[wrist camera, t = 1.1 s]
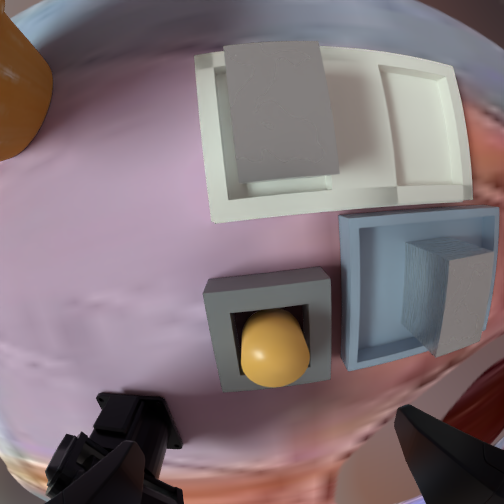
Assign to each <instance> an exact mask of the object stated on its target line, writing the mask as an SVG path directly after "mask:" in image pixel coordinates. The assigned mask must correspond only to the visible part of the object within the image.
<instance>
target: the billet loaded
mask: <svg viewBox="0 0 504 504" xmlns="http://www.w3.org/2000/svg"><path fill="white" fill-rule="evenodd" d="M223 48H224V57H225V66H226V75H227V84H228V93H229V102H230V111H231V120H232V128H233V137H234V146H235V154H236V163H237V172H238V180H239V183H240V184H250V183H259V182H268V181H278V180H289V179H301V178H313V177H321V176H329V175H337V174H340V171H339V162H338V153H337V145H336V137H335V130H334V123H333V117H332V110H331V104H330V98H329V92H328V87H327V81H326V76H325V71H324V66H323V61H322V56H321V52H320V47H319V43H318V41H278V42H259V43H246V44H236V45H227V46H223Z"/></svg>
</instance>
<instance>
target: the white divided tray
mask: <svg viewBox="0 0 504 504" xmlns="http://www.w3.org/2000/svg"><path fill="white" fill-rule="evenodd" d="M319 47H320V52H321V56H322V61H323V66H324V71H325V76H326V81H327V87H328V92H329V98H330V104H331V110H332V117H333V123H334V130H335V137H336V145H337V153H338V162H339V171H340V174H337V175H329V176H321V177H313V178H301V179H289V180H278V181H268V182H259V183H250V184H240V183H239V180H238V172H237V163H236V154H235V146H234V137H233V128H232V120H231V111H230V102H229V93H228V84H227V75H226V66H225V57H224V51H220V52H213V53H206V54H200V55H194V61H195V74H196V86H197V97H198V108H199V118H200V128H201V138H202V147H203V157H204V165H205V174H206V182H207V191H208V199H209V207H210V214H211V222H215V224H216V223H225V222H233V221H241V220H250V219H259V218H268V217H277V216H286V215H296V214H306V213H317V212H327V211H338V210H350V209H362V208H374V207H388V206H402V205H417V204H434V203H452V202H463V200H473V187H472V172H471V161H470V151H469V143H468V136H467V129H466V123H465V118H464V112H463V107H462V102H461V98H460V93H459V89H458V85H457V81H456V77H455V73H454V70H453V66H449V65H446V64H442V63H438V62H434V61H430V60H425V59H421V58H416V57H411V56H406V55H400V54H395V53H388V52H381V51H374V50H365V49H355V48H343V47H326V46H319Z"/></svg>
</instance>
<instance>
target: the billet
mask: <svg viewBox="0 0 504 504" xmlns="http://www.w3.org/2000/svg"><path fill="white" fill-rule="evenodd" d="M493 261H494V252H493V251H491V250H488V249H485V248H482V247H479V246H476V245H473V244H470V243H467V242H464V241H461V240H458V239H455V238H451V237H441V238H433V239H426V240H418V241H410V242H405V273H404V292H403V306H402V317H401V324H402V325H403V326H404V327H405V328H406V329H407V330H408V331H409V332H410V333H411V334H412V335H413V336H414V337H415V338H416V339H417V340H418V341H419V342H420V343H421V344H422V345H423V346H424V347H425V348H426V349H427V350H428V351H429V352H430V353H431V354H432V355H433V356H434V357H435V358H436V357H439V356H442V355H445V354H448V353H451V352H453V351H456V350H459V349H461V348H464V347H466V346H469V345H471V344H474V343H476V342H479V341H480V338H481V334H482V329H483V325H484V320H485V315H486V310H487V305H488V299H489V293H490V286H491V279H492V271H493Z"/></svg>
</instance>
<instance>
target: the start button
mask: <svg viewBox="0 0 504 504" xmlns="http://www.w3.org/2000/svg"><path fill="white" fill-rule="evenodd" d="M309 361H310V353H309V350H308V347H307V344H306V341H305V339H304V336H303V333H302V330H301V328H300V325H299V323H298V321H297V319H296V318H295V317H294V316H293V315H292V314H291V313H289V312H288V311H286V310H283V309H279V308H272V309H263V310H260V311H257V312H256V313H254V314H253V315H251V316H250V317H249V318H248V320H247V321H246V322H245V324H244V326H243V330H242V348H241V366H242V369H243V372H244V373H245V375H246V376H247V377H248V378H249V379H250V380H251V381H253V382H254V383H256V384H258V385H261V386H265V387H281V386H285V385H288V384H291V383H293V382H294V381H296V380H297V379H299V378H300V377H301V376H302V375H303V374H304V373H305V371H306V369H307V368H308V365H309Z"/></svg>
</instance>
